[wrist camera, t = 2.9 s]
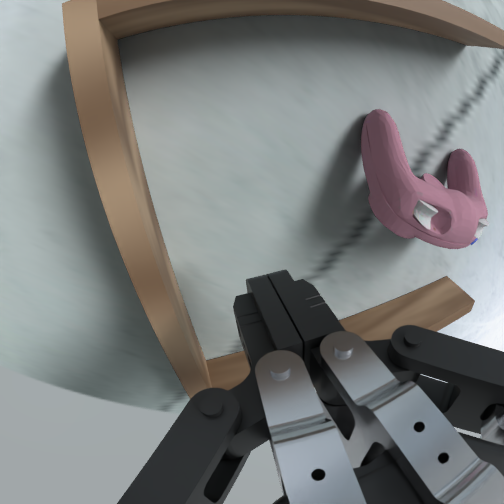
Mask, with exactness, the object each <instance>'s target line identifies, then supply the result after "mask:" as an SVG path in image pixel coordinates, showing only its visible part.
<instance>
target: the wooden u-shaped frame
mask: <svg viewBox="0 0 504 504" xmlns="http://www.w3.org/2000/svg"><path fill="white" fill-rule="evenodd" d="M62 10H63V22H64V32H65V41H66V49H67V57H68V63H69V70H70V76H71V82H72V87H73V92H74V98H75V102H76V107H77V112H78V116H79V121H80V125H81V129H82V134H83V138H84V142H85V145H86V149H87V153H88V157H89V160H90V164H91V168H92V171H93V174H94V178H95V181H96V184H97V188H98V191H99V194H100V197H101V200H102V203H103V206H104V209H105V212H106V215H107V218H108V221H109V224H110V227H111V229H112V232H113V235H114V238H115V240H116V243H117V246H118V248H119V251H120V253H121V256H122V259H123V261H124V264H125V266H126V269H127V271H128V273H129V276H130V278H131V281H132V283H133V285H134V288H135V290H136V292H137V295H138V297H139V299H140V301H141V304H142V306H143V308H144V310H145V312H146V315H147V317H148V319H149V321H150V323H151V325H152V327H153V329H154V331H155V334H156V336H157V338H158V340H159V342H160V344H161V346H162V348H163V350H164V352H165V353H166V355H167V357H168V359H169V361H170V363H171V365H172V367H173V369H174V371H175V372H176V374H177V376H178V378H179V380H180V381H181V383H182V385H183V387H184V389H185V390H186V392H187V394H188V396H189V397H190V399H191V398H192V397H193V396H194V395H195V394H196V393H198V392H199V391H202V390H204V389H207V388H222V389H225V390H230V389H232V388H233V387H235V386H237V385H238V384H240V383H241V382H243V381H244V380H245V379H246V377H247V376H248V375H249V373H250V367H249V364H248V361H247V358H246V355H245V352H244V351H241V352H238V353H234V354H230V355H226V356H223V357H219V358H215V359H211V360H207V361H206V359H205V357H204V354H203V352H202V349H201V347H200V344H199V341H198V339H197V336H196V334H195V331H194V328H193V326H192V323H191V320H190V317H189V315H188V312H187V309H186V306H185V304H184V301H183V298H182V295H181V292H180V289H179V286H178V283H177V280H176V277H175V274H174V271H173V268H172V265H171V262H170V259H169V256H168V253H167V250H166V247H165V243H164V240H163V237H162V234H161V230H160V227H159V223H158V220H157V217H156V213H155V210H154V206H153V203H152V199H151V195H150V192H149V188H148V184H147V180H146V177H145V173H144V169H143V165H142V161H141V157H140V153H139V149H138V144H137V140H136V136H135V131H134V127H133V122H132V118H131V113H130V108H129V103H128V98H127V93H126V88H125V82H124V77H123V71H122V65H121V59H120V53H119V47H118V39H121V38H124V37H128V36H132V35H135V34H139V33H143V32H147V31H151V30H156V29H160V28H165V27H170V26H175V25H180V24H186V23H192V22H198V21H205V20H213V19H221V18H231V17H243V16H261V15H308V16H326V17H338V18H348V19H356V20H364V21H371V22H377V23H383V24H388V25H394V26H399V27H403V28H408V29H412V30H416V31H421V32H424V33H428V34H432V35H436V36H439V37H442V38H446V39H449V40H452V41H455V42H458V43H461V44H464V45H467V46H480V47H490V48H499V49H504V31H503V30H502V29H500V28H498V27H496V26H495V25H493V24H491V23H489V22H487V21H485V20H484V19H482V18H480V17H478V16H476V15H474V14H472V13H470V12H468V11H465V10H463V9H461V8H459V7H457V6H454V5H452V4H450V3H447V2H445V1H442V0H70V1H67V2H65V3H62ZM474 302H475V301H474V300H473V299H472V298H471V297H470V296H469V295H468V294H467V293H466V292H465V291H463V290H462V289H461V288H460V287H459V286H458V285H457V284H455V283H454V282H453V281H452V280H451V279H450V278H448V277H447V276H446V277H444V278H442V279H440V280H437V281H435V282H433V283H431V284H429V285H426V286H424V287H422V288H420V289H417V290H415V291H413V292H410V293H408V294H406V295H403V296H401V297H398V298H396V299H394V300H391V301H389V302H386V303H384V304H381V305H379V306H376V307H374V308H371V309H369V310H366V311H363V312H361V313H358V314H355V315H353V316H350V317H347V318H345V319H342V320H339V322H340V323H341V325H342V326H343V327H344V329H345V330H346V331H348V332H352V333H355V334H357V335H358V336H360V337H361V338H362V339H363V340H365V341H374V340H384V339H391V337H392V334H393V332H394V331H395V330H396V329H397V328H399V327H401V326H404V325H415V326H419V327H422V328H425V329H429V330H432V331H435V332H437V331H438V330H440V329H442V328H444V327H445V326H447V325H449V324H451V323H452V322H454V321H456V320H457V319H459V318H461V317H462V316H464V315H465V314H467V313H469V312H470V311H471V309H472V307H473V304H474ZM313 386H314V385H313Z"/></svg>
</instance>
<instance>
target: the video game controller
mask: <svg viewBox="0 0 504 504" xmlns="http://www.w3.org/2000/svg"><path fill="white" fill-rule="evenodd" d="M361 153H362V160H363V167H364V171H365V175H366V179H367V183H368V186H369V190H370V193H369V197H368V200H369V204H370V207H371V209H372V211H373V213H374V214H375V216H376V217H377V218H378V220H379V221H380V222H381V223H382V224H383V225H384V226H385V227H387V228H388V229H389V230H391V231H392V232H394V233H395V234H396V235H398V236H401V237H403V238H409V239H410V238H414V237H417V238H419V239H421V240H423V241H425V242H428V243H430V244H433V245H436V246H439V247H443V248H448V249H460V248H464V247H467V246H469V245H470V244H471V245H472V244H474V243H475V242H476V241H477V240H478V238H479V237H480V236H481V234H482V229H483V227H484V226H488V225H489V223H488V221H487V220H486V218H487V215H488V212H487V208H486V205H485V201H484V198H483V195H482V191H481V187H480V182H479V177H478V172H477V168H476V165H475V162H474V160H473V159H472V157H471V155H470V154H469V153H468V152H467V151H465V150H463V149H457V150H455V151H453V152H452V154H451V155H450V158H449V161H448V167H447V185H448V189H447V188H445V187H444V186H443V185H442V184H441V183H440V181H438V180H437V179H436V178H435V177H434V176H432V175H430V174H427V173H425V174H424V175H423V176H422V177H421V178H420V179H419V178H417V177H416V176H415V175H414V174H413V173H412V171H411V169H410V167H409V165H408V162H407V159H406V156H405V153H404V150H403V146H402V142H401V139H400V135H399V132H398V129H397V126H396V124H395V122H394V121H393V119H392V118H391V116H390V115H389V113H387V112H386V111H383V110H381V109H376V110H373V111H372V112H370V113H369V114H368V115H367V117H366V118H365V121H364V124H363V128H362V134H361Z"/></svg>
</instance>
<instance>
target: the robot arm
mask: <svg viewBox="0 0 504 504" xmlns="http://www.w3.org/2000/svg"><path fill="white" fill-rule="evenodd" d="M246 285H247V292H248V293H247V294H243V295H239V296H236V298H235V302H234V306H233V308H234V313H235V318H236V323H237V327H238V332H239V337H240V340H241V343H242V346H243V349H244V352H245V355H246V358H247V361H248V364H249V367H250V373H249V375H248V376H247V377H246V379H245V380H244V381H243V382H241V383H240V384H238V385H237V386H235V387H233V388H232V389H230V390H225V389H222V388H207V389H204V390H202V391H199V392H198V393H196V394H195V395H194V396H193V397H192V398H191V399H190V401H189V402H188V403H187V405H186V406H185V408H184V409H183V411H182V412H181V414H180V415H179V417H178V418H177V420H176V421H175V423H174V424H173V425H172V427H171V428H170V430H169V431H168V433H167V434H166V436H165V437H164V439H163V440H162V441H161V443H160V444H159V446H158V447H157V449H156V450H155V452H154V453H153V454H152V456H151V457H150V459H149V460H148V462H147V463H146V464H145V466H144V467H143V469H142V470H141V471H140V473H139V474H138V476H137V477H136V478H135V480H134V481H133V482H132V484H131V485H130V487H129V488H128V489H127V491H126V492H125V493H124V495H123V496H122V498H121V499H120V500H119V502H118V503H117V504H223V502H224V500H225V499H226V497H227V495H228V493H229V492H230V490H231V488H232V486H233V484H234V483H235V481H236V479H237V477H238V475H239V473H240V472H241V470H242V468H243V466H244V464H245V462H246V460H247V458H248V456H249V455H250V452H251V451H252V450H253V449H255V448H256V447H258V446H260V445H261V444H263V443H264V442H266V441H267V440H269V441H270V445H271V448H272V452H273V456H274V460H275V464H276V468H277V472H278V476H279V480H280V484H281V488H282V492H283V496H282V497H281V498H279V499H278V500H276V501H275V502H274V503H273V504H504V352H502V351H499V350H496V349H492V348H489V347H485V346H482V345H478V344H475V343H472V342H468V341H465V340H462V339H458V338H455V337H452V336H448V335H445V334H442V333H438V332H435V331H432V330H429V329H425V328H422V327H419V326H415V325H404V326H401V327H399V328H397V329H396V330H395V331H394V332H393V334H392V337H391V339H384V340H374V341H365V340H363V339H362V338H361V337H360V336H358V335H357V334H355V333H352V332H348V331H346V330H345V329H344V327H343V326H342V325H341V323H340V322H339V320H338V319H337V318H336V316H335V315H334V313H333V312H332V311H331V309H330V308H329V306H328V305H327V304H326V303H325V301H324V299H323V298H322V297H321V296H320V294H319V292H318V291H317V290H316V288H315V287H314V285H312V284H310V283H308V282H307V281H305V280H303V279H301V280H297V281H294V280H293V279H292V277H291V276H290V274H289V273H288V271H287V270H282V271H278V272H274V273H270V274H267V275H262V276H258V277H254V278H250V279H246ZM420 374H423V375H426V376H429V377H432V378H435V379H439V380H442V381H445V382H448V383H445V382H442V381H439V380H435V379H432V378H429V377H426V376H423V375H420ZM313 385H314V386H313ZM314 387H315V389H316V391H317V392H316V391H315V389H314ZM454 427H457V428H460V429H464V430H467V431H471V432H475V433H479V434H481V437H480V438H476V437H473V436H470V435H466V434H463V433H460V432H457V431H456V430H455V428H454Z"/></svg>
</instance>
